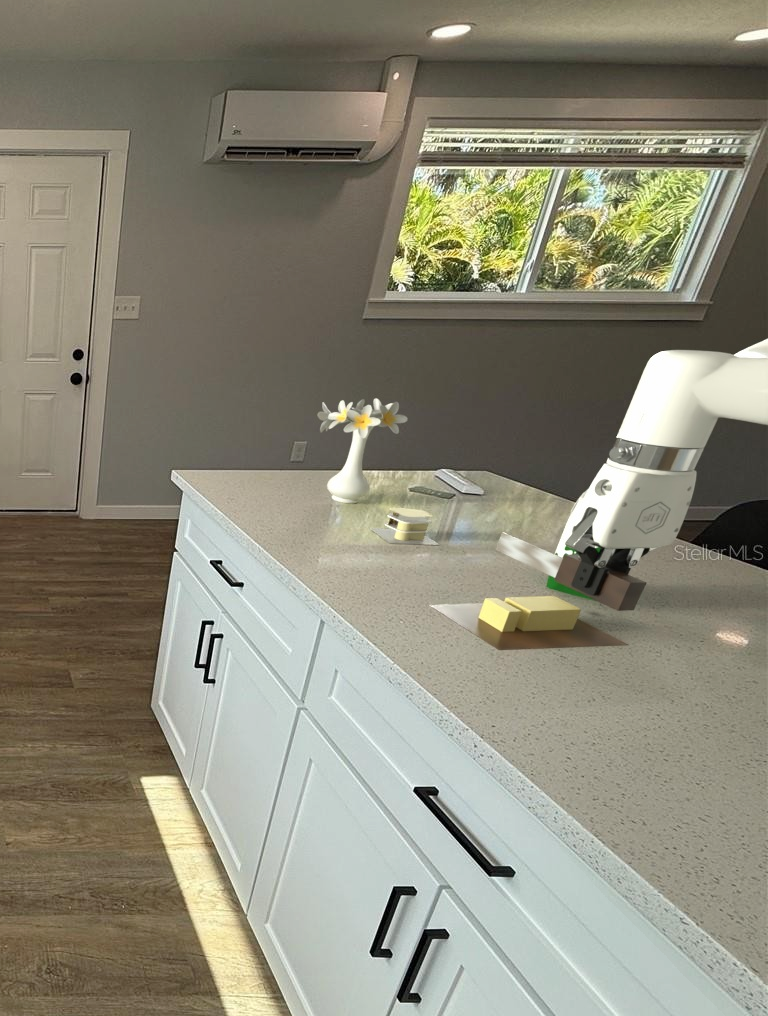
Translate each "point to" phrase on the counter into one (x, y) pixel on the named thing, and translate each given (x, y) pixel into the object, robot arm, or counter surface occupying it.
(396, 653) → the counter surface
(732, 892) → the counter surface
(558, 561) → the knife
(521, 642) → the cutting board
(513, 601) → the butter stick
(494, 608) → the butter pat
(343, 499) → the flower vase
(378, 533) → the stacked layers on plate
